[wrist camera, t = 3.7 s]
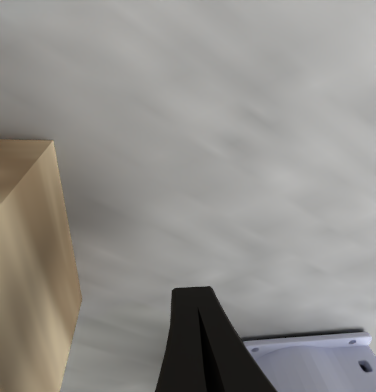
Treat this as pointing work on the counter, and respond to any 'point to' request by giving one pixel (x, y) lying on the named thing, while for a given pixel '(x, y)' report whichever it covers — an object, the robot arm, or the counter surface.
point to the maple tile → (34, 269)
